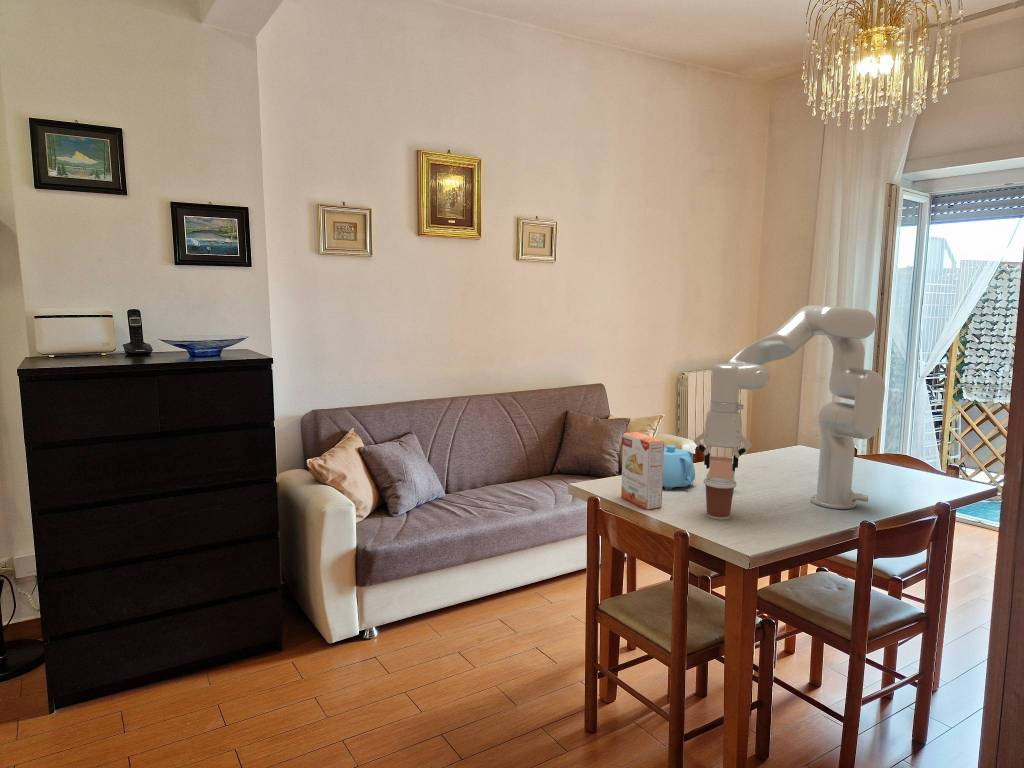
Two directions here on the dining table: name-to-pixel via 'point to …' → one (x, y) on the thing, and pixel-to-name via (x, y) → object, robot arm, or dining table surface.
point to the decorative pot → (677, 467)
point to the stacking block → (720, 467)
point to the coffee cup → (719, 497)
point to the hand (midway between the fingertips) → (720, 468)
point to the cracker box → (642, 470)
